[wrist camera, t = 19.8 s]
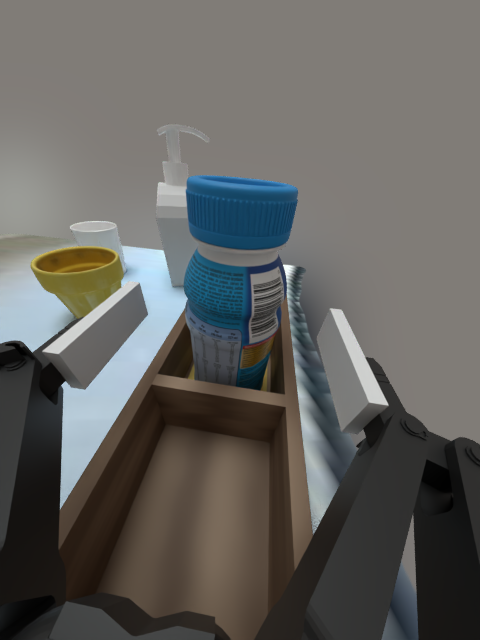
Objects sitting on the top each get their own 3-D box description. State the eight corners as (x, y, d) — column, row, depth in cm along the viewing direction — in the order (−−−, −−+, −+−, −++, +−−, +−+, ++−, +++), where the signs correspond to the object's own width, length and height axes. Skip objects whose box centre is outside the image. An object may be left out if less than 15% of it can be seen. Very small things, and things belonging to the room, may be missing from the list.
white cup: (116, 282, 42) (99, 233, 36) (81, 277, 42) (58, 228, 36) (136, 267, 48) (124, 223, 42) (105, 263, 49) (89, 219, 42)
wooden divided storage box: (66, 632, 11) (-51, 687, 6) (212, 302, 39) (212, 263, 34) (287, 686, 11) (351, 795, 6) (276, 311, 38) (286, 273, 33)
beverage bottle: (185, 410, 21) (140, 177, 8) (201, 351, 27) (188, 171, 15) (265, 416, 21) (339, 196, 8) (261, 355, 27) (299, 182, 15)
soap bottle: (216, 287, 44) (216, 126, 27) (168, 291, 41) (138, 114, 25) (207, 265, 53) (203, 133, 36) (167, 267, 50) (144, 125, 34)
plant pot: (146, 301, 37) (133, 250, 31) (108, 337, 29) (80, 278, 23) (97, 292, 38) (74, 241, 32) (47, 325, 30) (5, 266, 24)
